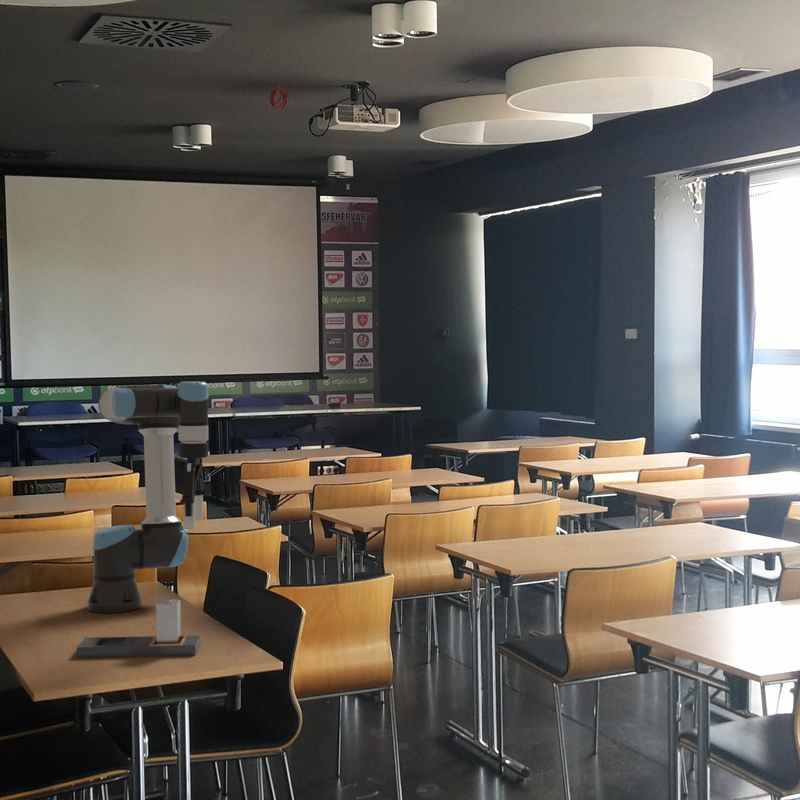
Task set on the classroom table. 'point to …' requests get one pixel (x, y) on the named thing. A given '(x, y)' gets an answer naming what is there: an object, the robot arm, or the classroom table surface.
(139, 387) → the robot arm
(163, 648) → the peg insertion base
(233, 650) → the classroom table surface
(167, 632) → the square gray post
